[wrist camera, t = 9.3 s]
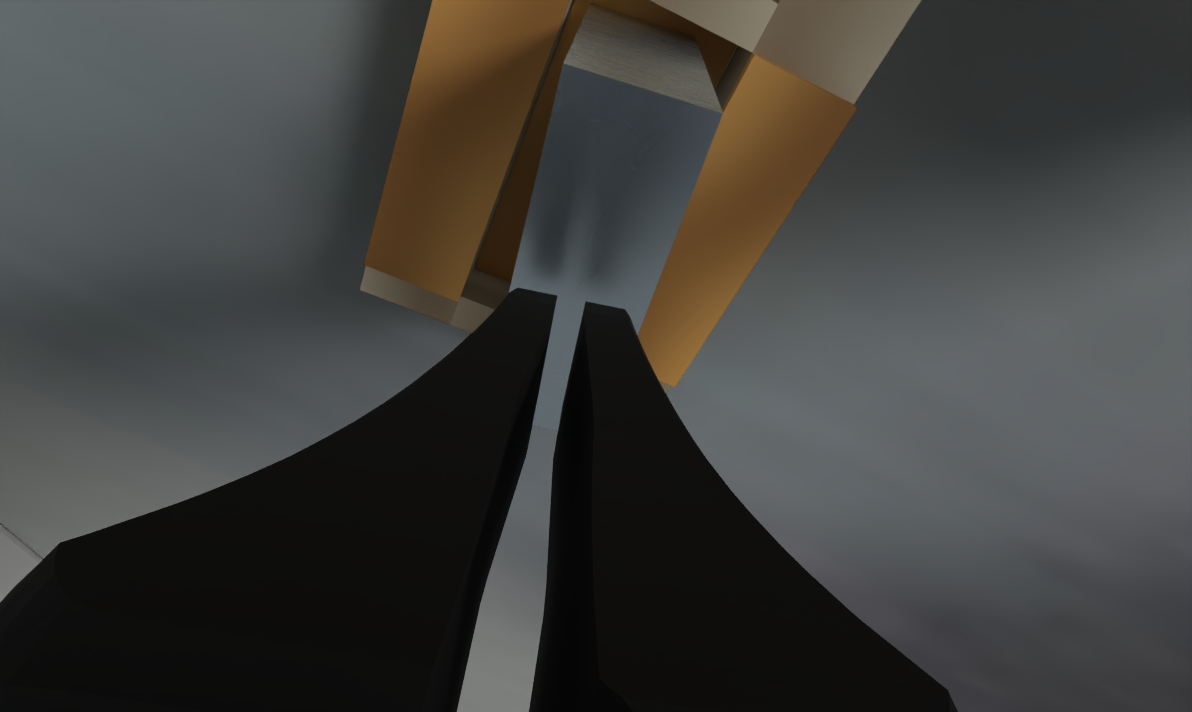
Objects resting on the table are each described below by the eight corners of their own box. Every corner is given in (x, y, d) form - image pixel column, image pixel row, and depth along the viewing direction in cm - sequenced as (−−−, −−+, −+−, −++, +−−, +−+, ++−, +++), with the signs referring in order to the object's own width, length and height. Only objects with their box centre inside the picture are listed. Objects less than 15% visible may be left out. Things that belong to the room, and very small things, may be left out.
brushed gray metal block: (694, 36, 15) (723, 113, 10) (609, 289, 19) (596, 440, 14) (590, 2, 15) (563, 63, 10) (525, 266, 19) (480, 412, 14)
